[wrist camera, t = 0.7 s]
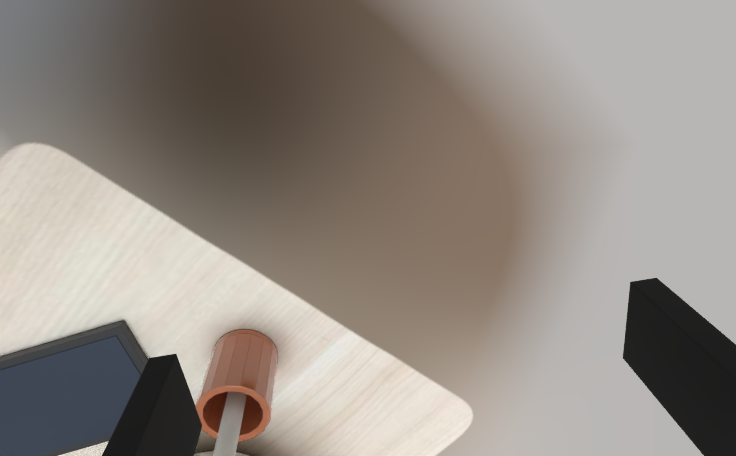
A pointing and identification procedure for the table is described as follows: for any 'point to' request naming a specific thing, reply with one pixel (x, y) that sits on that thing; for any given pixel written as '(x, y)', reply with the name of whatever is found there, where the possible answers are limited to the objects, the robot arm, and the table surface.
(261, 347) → the cup
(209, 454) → the planter
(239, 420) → the stylus
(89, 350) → the tablet
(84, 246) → the table surface
